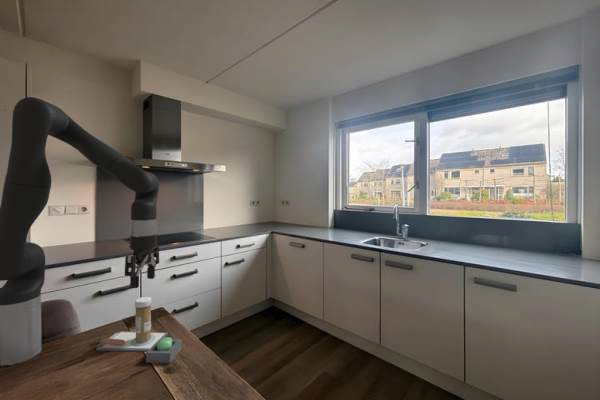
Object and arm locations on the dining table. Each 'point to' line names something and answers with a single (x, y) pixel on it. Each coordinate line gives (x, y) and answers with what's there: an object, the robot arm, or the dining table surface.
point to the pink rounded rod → (112, 341)
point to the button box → (163, 353)
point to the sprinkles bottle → (143, 319)
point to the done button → (164, 344)
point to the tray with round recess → (132, 342)
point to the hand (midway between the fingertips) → (143, 282)
